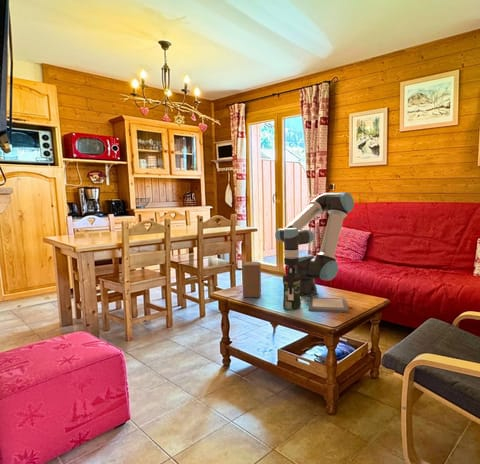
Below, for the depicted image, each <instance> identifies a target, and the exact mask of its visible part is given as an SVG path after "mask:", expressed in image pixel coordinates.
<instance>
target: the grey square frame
mask: <svg viewBox="0 0 480 464" xmlns="http://www.w3.org/2000/svg"><path fill="white" fill-rule="evenodd" d="M308 311H309V312H332V313H349V311H350V310H349V308H348V304H347V301H346V298H342V297H341V298H338V297H313V296H312V297H308Z"/></svg>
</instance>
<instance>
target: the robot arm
mask: <svg viewBox="0 0 480 464" xmlns="http://www.w3.org/2000/svg"><path fill="white" fill-rule="evenodd" d="M354 201H355V200H354V198H353V195H352V194H351V193H349V192H345V191H339V192H338V191H336V192H325V193H321V194H320V195H318V196H316V197H315V198H313V199H312V200H311V201H310V202H309V203H308V206H307V207H306V208H305V209H304V210H302V211H301V212H300V213H299V214H298V215H297V216H296V217H295V218H293V220H291V221H290V222H289V223H288V224H287V225H286V226H285V227H283V228H282V227H281V228H278V229H277V230H276V231H275V234H274V236H275V239H276V241H278V242H280V243H281V242H282V243H283V249H284V250H283V251H282V252H283V255H284V258H283V261H284V262H283V265H285V266H288V267H287V275H288V286H287V288H288V300H294V297H293V277H294V273H297V274H299V275H300V296H314V295H316V294H317V293H318V289H317V286H316V282H315V279H319V280H322V281H332V280H333V279H335V277H336V276H337V274H338V272H339V267H338V266H339V264H338V263H337V258H336V256H335V254H336V251H337V247H338V242H339V238H340V236H341V235H340V234H341V231H342V226H343V222H344V219H345V218H346V217H347V216H348V214H349V213H350V212H353V209H354V206H355V205H354V204H355V202H354ZM324 212H327V214H328V215H329V216H328V218H327V223H326V228H325V231H324V235H323V237H322V242H321V246H320V250H319V253H316V254H315V255H316V256H314V254H303V255H299V245H300V246H301V245H307V244H310V243H311V244H312V242H313V241H314V239H315V238H314V237H315V236H314V235H315V234H314V233H313V231H311V230H309V229H305V227H306V226H307V225H308V224H309V223H310V222H311V221H312V220H313V219H314V218H315V217H317V216H318V215H321V214H322V213H324ZM303 229H304V230H303Z"/></svg>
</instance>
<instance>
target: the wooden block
mask: <svg viewBox="0 0 480 464" xmlns="http://www.w3.org/2000/svg"><path fill="white" fill-rule="evenodd" d="M261 266H262V265H261V262H259V261H245V262H244V263H243V264H242V266H241V270H242V271H241V272H242V276H241V277H242V278H241V279H242V297H243V298H245V297H259V298H260V296H261V294H262V277H261V275H262V271H261Z"/></svg>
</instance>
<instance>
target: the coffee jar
mask: <svg viewBox="0 0 480 464" xmlns="http://www.w3.org/2000/svg"><path fill="white" fill-rule="evenodd" d="M282 285H283V301H282V307H283V308H284V309H285V310H288V311H289V310H290V311H291V310H294V311H295V310H298V309H299V308H300V307H301V305H302V301H301V295H300V275H299V274H297V273H294V277H293V297H294V300H288V288H287V286H288V274H285V275H283V276H282Z"/></svg>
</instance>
